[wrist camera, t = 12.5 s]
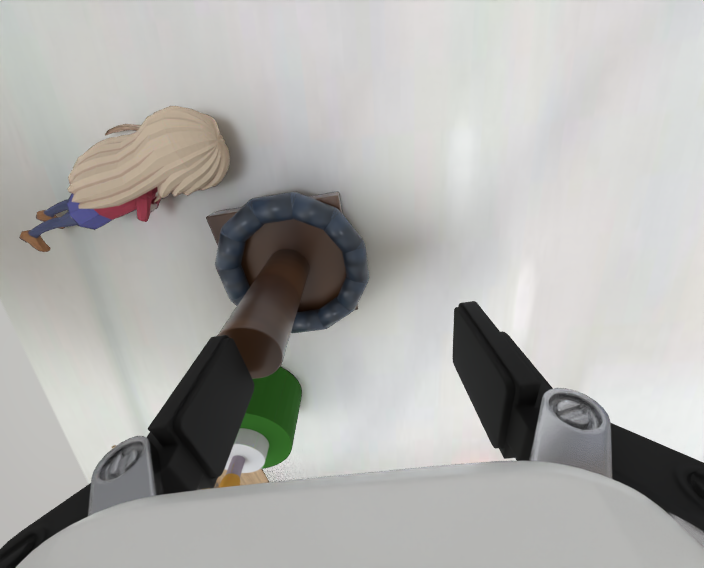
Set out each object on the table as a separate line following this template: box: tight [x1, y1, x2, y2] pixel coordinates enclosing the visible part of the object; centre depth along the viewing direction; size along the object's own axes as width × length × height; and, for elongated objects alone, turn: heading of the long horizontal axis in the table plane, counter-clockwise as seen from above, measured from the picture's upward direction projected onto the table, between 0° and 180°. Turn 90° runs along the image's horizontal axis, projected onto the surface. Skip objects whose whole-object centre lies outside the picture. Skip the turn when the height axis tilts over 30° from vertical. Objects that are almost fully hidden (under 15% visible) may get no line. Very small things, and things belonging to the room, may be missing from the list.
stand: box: [206, 192, 358, 379], centre depth 16 cm, size 9×9×10 cm
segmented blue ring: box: [215, 192, 369, 333], centre depth 19 cm, size 10×10×2 cm
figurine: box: [19, 106, 230, 252], centre depth 16 cm, size 6×4×15 cm
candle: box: [219, 367, 302, 488], centre depth 23 cm, size 8×8×10 cm
